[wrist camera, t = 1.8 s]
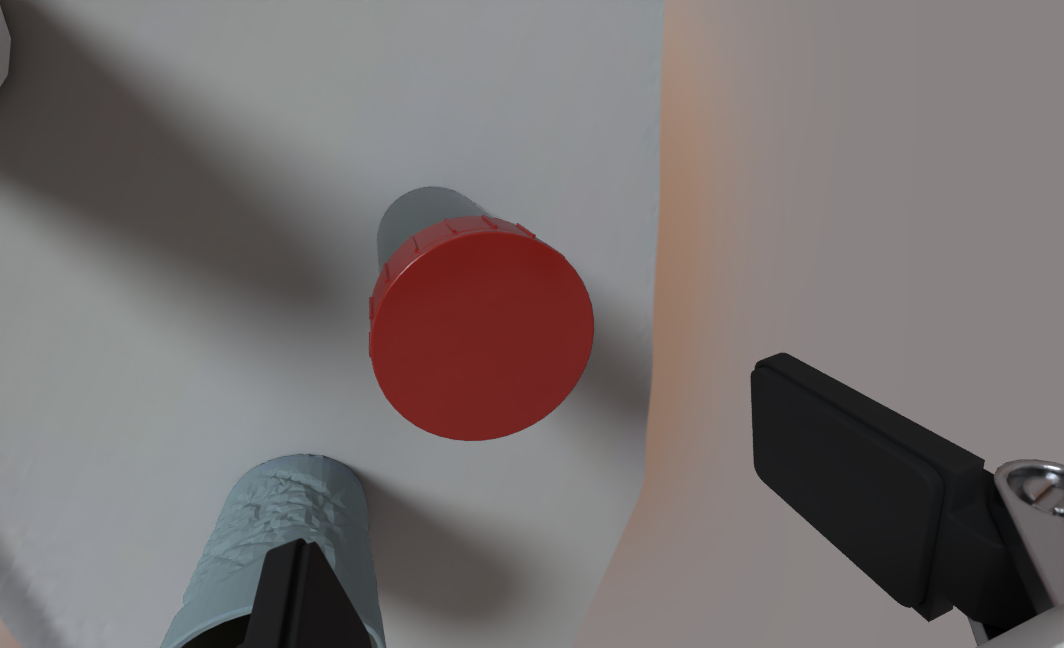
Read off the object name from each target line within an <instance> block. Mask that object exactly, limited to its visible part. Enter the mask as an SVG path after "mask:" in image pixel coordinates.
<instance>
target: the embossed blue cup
mask: <svg viewBox="0 0 1064 648" xmlns="http://www.w3.org/2000/svg"><path fill="white" fill-rule="evenodd" d="M368 530H369V518H368V511H367V503H366V497H365V493H364V490H363V487H362V485H361V483H360V481H359V479H358V478H357V477H356V476H355V474H354V473H353V472H352V471H351V470H350V469H349V468H348V467H347V466H345V465H343V464H341V463H339V462H337V461H335V460H333V459H330V458H325V457H324V456H321V455H316V456H312V455H310V454H307V455H302V454H298V455H291V456H285V457H280V458H277V459H275V460H269V461H268V462H267V463H262V464H261V465H259V466H256V467H255V468H253V469H252V470H250V471H249V472H248V473H247V474H245V475H244V476H243V477H242V478H241V479H240V480H239V482H238V483H237V484H236V485H235V486H234V487H233V489H232V491H231V492H230V494H229V496H228V498H227V500H226V502H225V504H224V507H223V509H222V511H221V514H220V516H219V518H218V521H217V524H216V526H215V530H214V531H213V533H212V534H211V536H210V539H209V541H208V542H207V544H206V546H205V549H204V552H203V555H202V557H201V558H200V560H199V562H198V564H197V568H196V570H195V572H194V574H193V576H192V578H191V580H190V583H189V585H188V588H187V590H186V592H185V594H184V596H183V604H184V606H183V608H182V609H181V610H180V611H179V612H178V613H177V615H176V616H175V617H174V619H173V621H172V623H171V625H170V627H169V630H168V632H167V634H166V636H165V638H164V640H163V642H162V644H161V647H160V648H236V647H237V646H238V645H241V644H243V643H244V640H245V636H246V632H247V628H248V624H249V620H250V616H251V612H252V607H253V603H254V599H255V595H256V591H257V587H258V583H259V579H260V575H261V570H262V566H263V562H264V558H265V555H266V553H267V552H268V551H269V550H270V549H273V548H275V547H278V546H280V545H283V544H286V543H288V542H291V541H293V540H296V539H299V538H303V539H304V540H305V541H306V542H307V544H308V543H311V542H314V541H315V542H316V543H317V544H318V545H319V546H320V548H321V550H322V552H323V553H324V555H325V557H326V559H327V560H328V562H329V564H330V566H331V568H332V569H333V571H334V573H335V575H336V576H337V578H338V580H339V582H340V583H341V585H342V587H343V589H344V590H345V592H346V594H347V596H348V597H349V599H350V601H351V603H352V604H353V606H354V608H355V610H356V612H357V613H358V615H359V617H360V619H361V620H362V622H363V624H364V626H365V627H366V629H367V631H368V633H369V636H370V640H371V645H372V648H386V642H385V636H384V629H383V623H382V616H381V611H380V607H379V601H378V593H377V581H376V576H375V573H374V566H373V560H372V556H373V555H372V551H371V547H370V539H369V537H368V534H367V532H368Z"/></svg>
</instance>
